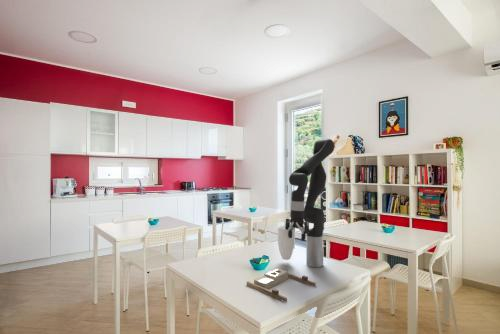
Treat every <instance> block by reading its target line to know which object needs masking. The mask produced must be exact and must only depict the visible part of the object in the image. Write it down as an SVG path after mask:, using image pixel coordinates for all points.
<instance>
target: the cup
mask: <svg viewBox="0 0 500 334" xmlns="http://www.w3.org/2000/svg"><path fill="white" fill-rule="evenodd" d="M285 225H286V224H285ZM285 225H279V226H277V244H278V251H279V253H280V256H281V259H282V260H285V261H287V260H288V261H289V260H290V259H291V257H292V255H293V251H294V246H295V238H296V237H295V234H296V233H295V228H293V230H292V238H289V237H288V230H287V229H285Z"/></svg>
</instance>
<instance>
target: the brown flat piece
mask: <svg viewBox="0 0 500 334" xmlns="http://www.w3.org/2000/svg"><path fill="white" fill-rule="evenodd" d="M289 278H290V279H293V280H295V281H298V282H301V283H304V284H306V285H309V286H312V287H316V286H317V282H314V281H311V280H309V276H307V275H302V276H301V277H300V276H297V275H295V274H291V273H289V272H288V279H289ZM246 286H249V287H251V288H252V289H255V290H258V291H260V292H262V293H264V294H267V295H269V296H271V297H274V298H275V297H276V299H278V300H279V301H280V300H281V301H282V300H283V301H282V302H284V301H286V302H287V301H288V297H286V296H284V295H282V294H280V291H279V289H277V288H273V289H271V290H270V289H269V288H268V289H265V288H263V287H261V286H258V285H256V284H254V282H251V281H249V280H248V281H246Z"/></svg>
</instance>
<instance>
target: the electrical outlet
mask: <svg viewBox="0 0 500 334" xmlns="http://www.w3.org/2000/svg"><path fill="white" fill-rule="evenodd" d="M288 273H289V272H288V271H287V270H284V269H280V268H274V269H272V270H270V271H268V272H265V273H264V274H263V275H262V276H259V277H257V278H255V279H253V283H254V284H256V285H258V286H261V287H263V288H265V289H268V290H269V289H270V288H272V287H274V286H276V285H278V284H280V283H282V282H284V281H286V280H289V277H288Z"/></svg>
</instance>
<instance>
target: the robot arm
mask: <svg viewBox="0 0 500 334" xmlns="http://www.w3.org/2000/svg"><path fill="white" fill-rule="evenodd" d="M334 142H335V141H334V140H332V139H330V138H325V139H318V140H315V142H314V144H313V149H312V150H313V154H312V156H310V157H308V158H307V159H306V160H305V161H304V162H303V164H302V165H301V166H299V167H298V168H296V169H295V170H294V171H293V172H291V174H290V176H289V177H288V181H289V184H290V185H291V186H293V187H297V188H296V189H294V190H292V191H291V198H290V199H291V202H290V214H289V215H290V216H289V217H290V218H285V229H287V230H288V237H289V238H292V230H293V228H294V229H298V230H299V231H300V232H301V237H300V238H301V239H300V241H302V242H304V241H306V242H305V243H306V244H305V247H306V251H305V253H306V254H305V255H306V256H305V257H306V261H305V262H306V266H308V267H311V268H321V267H323V265H324V246H323V245H324V244H323V243H324V242H323V241H324V240H323V237H324V236H323V235H324V234H323V233H324V226H325V225H324V223H325V212H324V210H323V209H322V208H319V207H315V203H316V201H317V199H318V197H319V196H320V195H321V194H322V193H323V191H324V189H325V188H326V183H327V173H326V170H325V169H324V167H323V163H322V162H323V161H324V160H325V159H327V158H328V157H329V156H330V155H331V154H332V153H333V152H334V150H335V143H334ZM309 176H310V179H309V178H308V177H309ZM308 183H309V185H308ZM307 187H308V192H307V199H306V202H305V193H306V191H307ZM310 224H313V227H311V228H310Z"/></svg>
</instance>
